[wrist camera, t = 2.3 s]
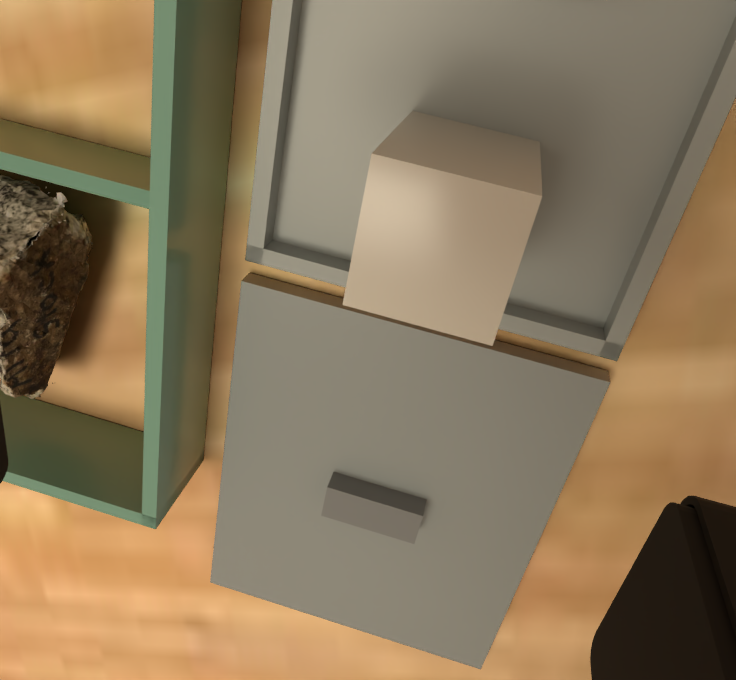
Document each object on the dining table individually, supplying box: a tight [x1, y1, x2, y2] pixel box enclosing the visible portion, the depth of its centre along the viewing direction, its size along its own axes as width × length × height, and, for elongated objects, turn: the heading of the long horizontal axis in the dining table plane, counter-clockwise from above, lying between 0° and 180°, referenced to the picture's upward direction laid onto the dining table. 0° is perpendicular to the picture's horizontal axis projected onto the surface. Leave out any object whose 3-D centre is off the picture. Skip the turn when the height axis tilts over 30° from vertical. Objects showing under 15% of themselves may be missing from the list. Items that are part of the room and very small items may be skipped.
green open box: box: [0, 0, 242, 529], centre depth 23 cm, size 14×24×4 cm, turn 169°
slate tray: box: [210, 0, 736, 669], centre depth 24 cm, size 14×34×2 cm, turn 169°
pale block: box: [343, 111, 542, 346], centre depth 19 cm, size 4×4×6 cm
